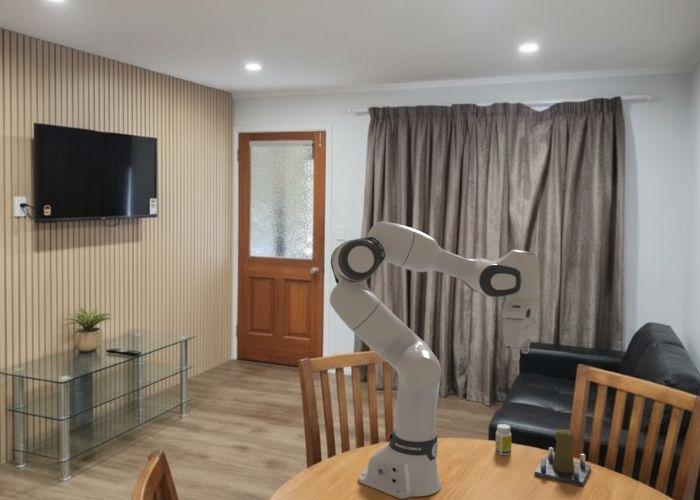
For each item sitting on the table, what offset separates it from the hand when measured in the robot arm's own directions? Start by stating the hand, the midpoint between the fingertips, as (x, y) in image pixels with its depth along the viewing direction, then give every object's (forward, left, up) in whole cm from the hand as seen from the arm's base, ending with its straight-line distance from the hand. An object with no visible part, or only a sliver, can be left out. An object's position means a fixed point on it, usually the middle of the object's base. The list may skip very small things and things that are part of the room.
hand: (520, 356), depth 174 cm
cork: (+11, +8, -33) cm, 36 cm away
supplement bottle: (-8, +13, -34) cm, 38 cm away
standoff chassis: (+11, +8, -34) cm, 37 cm away
